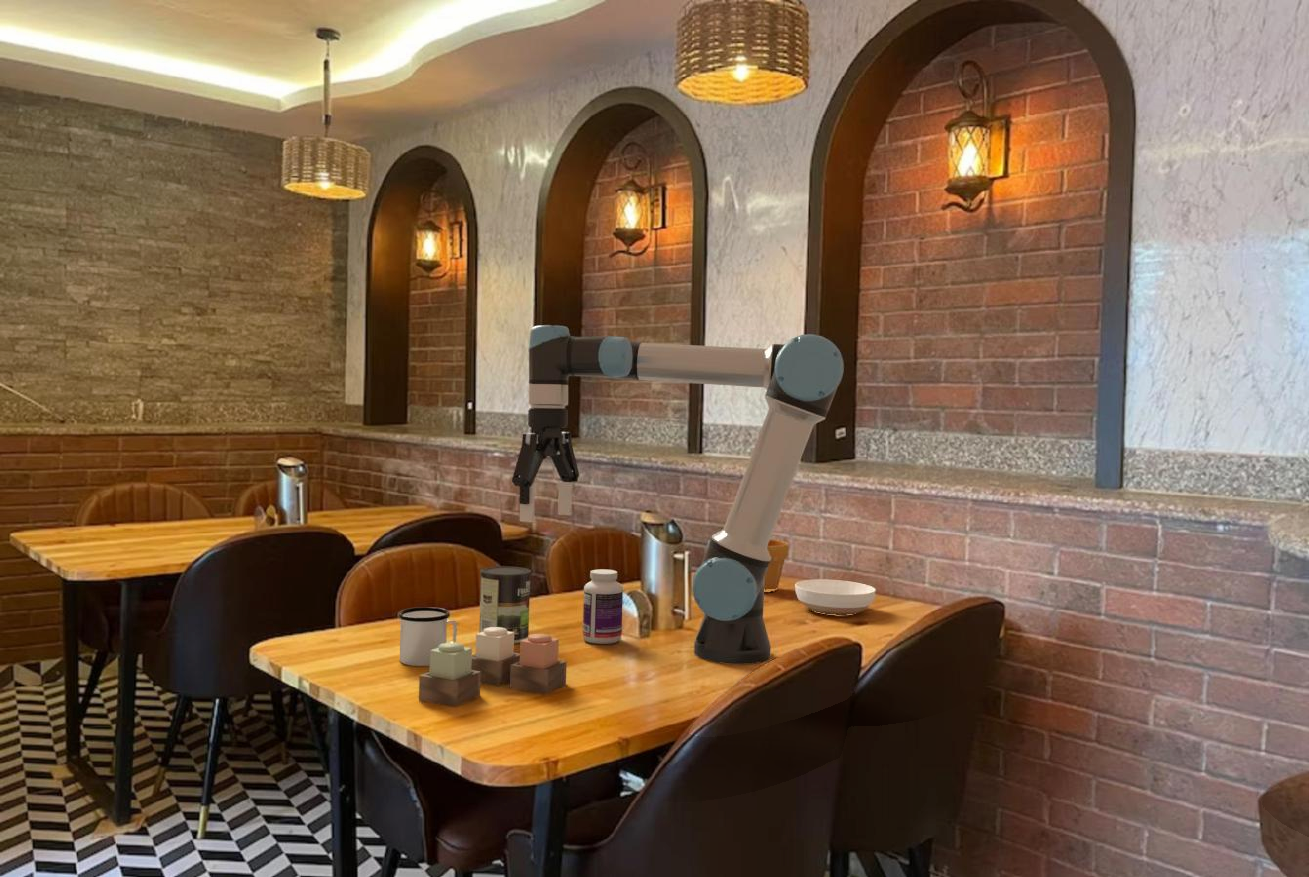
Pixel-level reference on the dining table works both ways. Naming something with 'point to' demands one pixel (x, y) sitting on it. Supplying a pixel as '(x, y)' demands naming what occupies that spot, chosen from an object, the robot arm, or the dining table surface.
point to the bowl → (835, 596)
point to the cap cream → (494, 644)
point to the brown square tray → (449, 689)
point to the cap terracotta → (539, 651)
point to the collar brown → (538, 677)
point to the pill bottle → (602, 608)
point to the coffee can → (505, 600)
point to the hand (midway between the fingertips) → (546, 518)
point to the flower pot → (775, 563)
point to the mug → (423, 633)
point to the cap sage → (450, 661)
